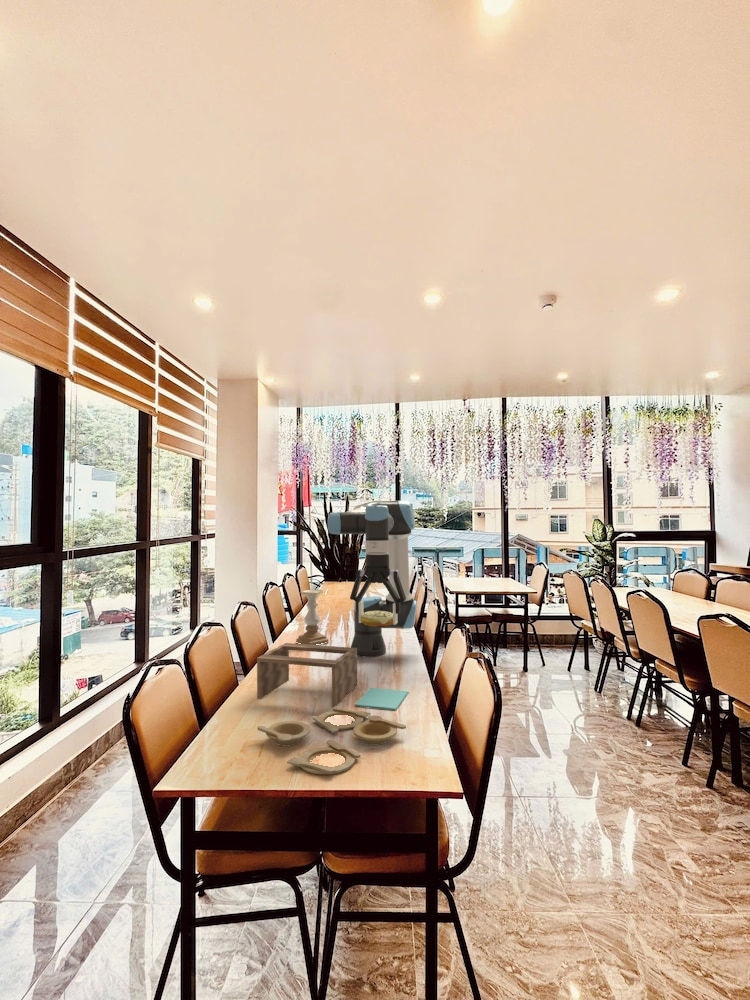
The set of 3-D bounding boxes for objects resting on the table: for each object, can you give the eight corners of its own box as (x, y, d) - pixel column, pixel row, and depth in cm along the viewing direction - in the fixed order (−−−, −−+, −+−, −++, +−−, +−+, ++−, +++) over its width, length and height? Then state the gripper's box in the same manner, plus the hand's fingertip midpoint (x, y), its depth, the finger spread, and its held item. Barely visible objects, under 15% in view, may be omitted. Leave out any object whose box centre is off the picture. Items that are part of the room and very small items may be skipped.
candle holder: (295, 643, 240) (295, 591, 241) (314, 639, 248) (314, 588, 248) (309, 647, 232) (309, 593, 233) (329, 643, 240) (328, 590, 240)
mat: (370, 689, 175) (370, 687, 175) (408, 693, 171) (408, 691, 171) (354, 706, 160) (354, 704, 160) (396, 710, 156) (395, 708, 156)
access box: (285, 679, 186) (285, 643, 187) (357, 686, 178) (356, 647, 179) (257, 698, 167) (257, 657, 168) (335, 706, 159) (335, 663, 160)
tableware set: (319, 787, 113) (319, 768, 113) (243, 747, 133) (243, 731, 133) (419, 736, 139) (419, 720, 139) (343, 709, 159) (343, 695, 159)
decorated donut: (388, 628, 160) (388, 616, 160) (356, 626, 163) (356, 614, 163) (399, 621, 169) (399, 610, 169) (368, 619, 173) (368, 608, 173)
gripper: (339, 554, 167) (339, 623, 166) (409, 554, 160) (410, 627, 159) (347, 552, 174) (348, 618, 173) (415, 553, 167) (416, 622, 166)
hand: (378, 623), depth 166 cm, fingers closed on decorated donut, 11 cm apart
